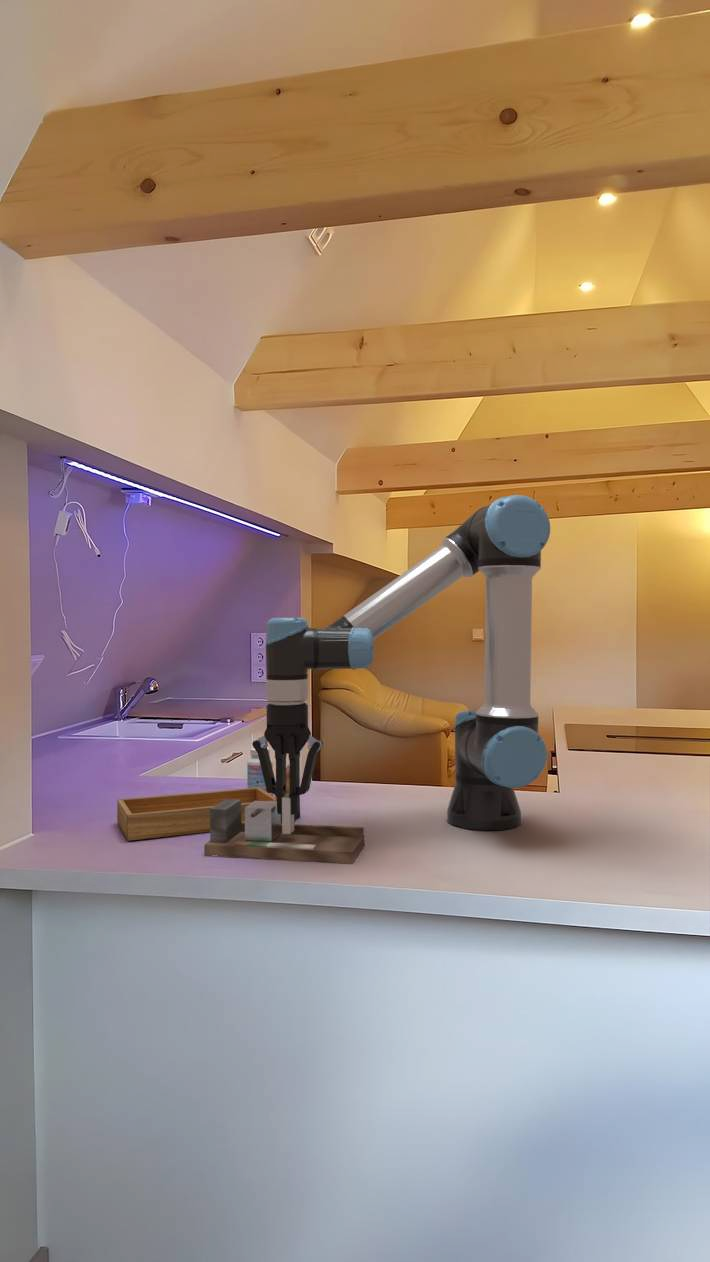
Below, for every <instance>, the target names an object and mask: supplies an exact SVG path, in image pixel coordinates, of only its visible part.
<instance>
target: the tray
mask: <svg viewBox="0 0 710 1262" xmlns="http://www.w3.org/2000/svg"><path fill="white" fill-rule="evenodd" d="M226 799H235V800H241V822H245V807H247V806H248V805H249V804H251V803H252V802H254V801H273V802H275V795H274V796H273V794H269V793H267V792H266V791H264V790H263V789H261V788H259V787H258V788H248V787H246V788H237V789H226V790H225V789H223V790H213V791H202V792H201V791H200V792H199V791H198V792H190V793H187V792H186V793H176V794H165V795H154V796H152V795H151V796H143V797H142V796H141V797H132V798H131V797H130V798H120V799H119V798H118V799H117V806H116V808H117V810H116V811H117V812H116V817H117V819H116V820H117V821H116V822H117V825H118V827H119V828H120V830H121V832H122V833H123V835H124V837H125V838H126V840H127V841H138V840H139V841H140V840H147V839H156V838H165V837H173V836H182V835H191V834H193V835H194V834H201V833H208V832H209V833H210V809H211V808H213V807H214V806H216V805H217V804H219V803H221V802H222V801H224V800H226Z"/></svg>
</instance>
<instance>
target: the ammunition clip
mask: <svg viewBox="0 0 710 1262" xmlns="http://www.w3.org/2000/svg"><path fill="white" fill-rule="evenodd" d="M286 790H287V792H286V793H285V795H289V794H290V768H289V764H286ZM274 797H275V802H277V797H276V795H275V794H274ZM300 797H301V795H300V796H299V812H298V814H296V815H294V822H296V821H297V820H298V819H300V818H301V798H300ZM281 824H282V814H281Z"/></svg>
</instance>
